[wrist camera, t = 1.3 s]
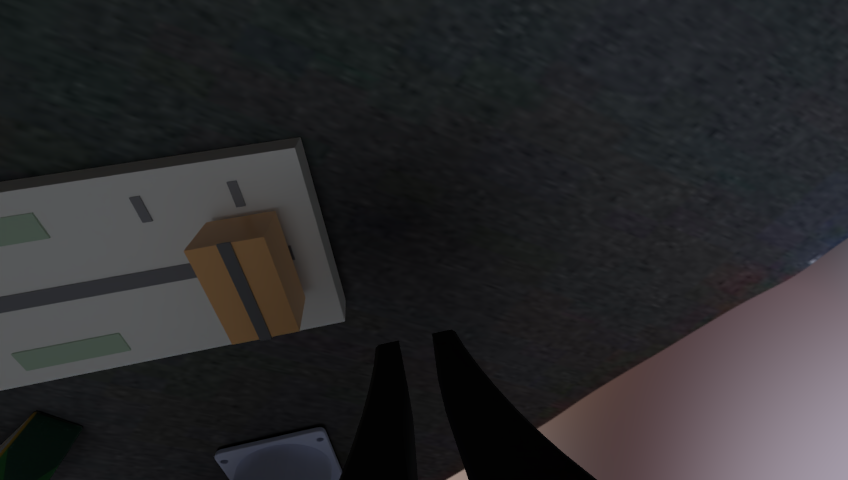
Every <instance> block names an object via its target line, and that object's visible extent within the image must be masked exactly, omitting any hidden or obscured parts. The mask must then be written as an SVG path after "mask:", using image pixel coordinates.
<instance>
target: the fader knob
mask: <svg viewBox="0 0 848 480" xmlns="http://www.w3.org/2000/svg"><path fill="white" fill-rule="evenodd" d="M184 253H185V255H186V257H187V259H188V261H189V262H190V264H191V266H192V268H193V270H194V272H195V274H196V276H197V278H198V280H199V282H200V284H201V286H202V288H203V289H204V291H205V293H206V295H207V297H208V299H209V301H210V303H211V305H212V307H213V309H214V311H215V313H216V314H217V316H218V318H219V320H220V322H221V324H222V326H223V328H224V330H225V332H226V334H227V336H228V338H229V339H230V341H231V343H232V345H233V344H238V343H243V342H248V341H253V340H258V339H260V341H265V340H270V339H272V337H273V336H278V335H283V334H288V333H293V332H298V331H300V326H301V320H302V315H303V309H304V303H305V295H304V292H303V289H302V286H301V283H300V280H299V277H298V274H297V272H296V269H295V266H294V263H293V260H292V257H291V254H290V251H289V248H288V246H287V243H286V240H285V237H284V234H283V231H282V228H281V225H280V223H279V220H278V217H277V214H276V211H271V212H265V213H259V214H253V215H247V216H241V217H235V218H229V219H223V220H217V221H211V222H206V223H205V224H204V226H203V227H202V228H201V229H200V231H199V232H198V233H197V235H196V236H195V237H194V238H193V240H192V241H191V242H190V243H189V245H188V246H187V247H186V248H185V250H184Z"/></svg>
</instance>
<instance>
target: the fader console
mask: <svg viewBox="0 0 848 480" xmlns="http://www.w3.org/2000/svg"><path fill="white" fill-rule="evenodd" d="M271 211H276V214H277V217H278V220H279V223H280V225H281V228H282V231H283V234H284V237H285V240H286V243H287V246H288V248H289V251H290V254H291V257H292V260H293V263H294V266H295V269H296V272H297V274H298V277H299V280H300V283H301V286H302V289H303V292H304V295H305V303H304V309H303V315H302V320H301V326H300V330H305V329H310V328H315V327H320V326H325V325H330V324H335V323H340V322H345V302H346V299H345V296H344V292H343V289H342V285H341V281H340V278H339V274H338V271H337V267H336V263H335V260H334V256H333V253H332V249H331V245H330V242H329V238H328V234H327V231H326V227H325V224H324V220H323V216H322V213H321V209H320V206H319V202H318V198H317V195H316V191H315V188H314V184H313V180H312V177H311V173H310V170H309V166H308V162H307V159H306V155H305V151H304V148H303V144H302V141H301V137H297V138H290V139H283V140H277V141H270V142H263V143H257V144H250V145H243V146H237V147H230V148H223V149H216V150H210V151H203V152H196V153H190V154H183V155H176V156H170V157H163V158H156V159H149V160H143V161H136V162H129V163H123V164H116V165H109V166H103V167H96V168H89V169H82V170H76V171H69V172H62V173H56V174H49V175H42V176H36V177H29V178H22V179H16V180H9V181H2V182H0V391H1V390H6V389H11V388H16V387H21V386H26V385H31V384H36V383H41V382H45V381H50V380H55V379H60V378H65V377H70V376H75V375H80V374H85V373H90V372H95V371H100V370H105V369H110V368H115V367H120V366H125V365H130V364H135V363H140V362H145V361H150V360H155V359H160V358H165V357H170V356H175V355H180V354H185V353H190V352H195V351H200V350H205V349H210V348H215V347H220V346H225V345H230V344H232V343H231V341H230V339H229V338H228V336H227V334H226V332H225V330H224V328H223V326H222V324H221V322H220V320H219V318H218V316H217V314H216V313H215V311H214V309H213V307H212V305H211V303H210V301H209V299H208V297H207V295H206V293H205V291H204V289H203V288H202V286H201V284H200V282H199V280H198V278H197V276H196V274H195V272H194V270H193V268H192V266H191V264H190V262H189V261H188V259H187V257H186V255H185V253H184V250H185V248H186V247H187V246H188V245H189V243H190V242H191V241H192V240H193V238H194V237H195V236H196V235H197V233H198V232H199V231H200V229H201V228H202V227H203V226H204V224H205V223H206V222H211V221H217V220H223V219H229V218H235V217H241V216H247V215H253V214H259V213H265V212H271Z"/></svg>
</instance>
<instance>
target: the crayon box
mask: <svg viewBox="0 0 848 480" xmlns="http://www.w3.org/2000/svg"><path fill="white" fill-rule="evenodd" d="M82 428H83V427H81V426H80V425H76V424H73V423H70V422H67V421H64V420H62V419H59V418H56V417H53V416H50V415H47V414H44V413H41V412H38V411H35V412H34V413H33V414H32V415H31V416H30V417H29V418H28V419H27V420H26V421H25V422H24V423H23V424H22V425H21V426H20V427H19V428H18V429H17V430H16V431H15V432H14V433H13V434H12V435H11V436H10V437H9V438H7V439H6V440H5V441H4V442H3V443H2V444H1V445H0V480H50V478H51V477H52V475H53V474H54V472H55V471H56V469H57V468H58V466H59V465H60V463H61V462H62V460H63V459H64V457H65V456H66V454H67V452H68V451H69V449H70V448H71V446H72V444H73V443H74V441H75V440H76V438H77V437H78V435H79V434H80V432H81V431H82Z"/></svg>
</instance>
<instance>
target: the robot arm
mask: <svg viewBox="0 0 848 480" xmlns="http://www.w3.org/2000/svg"><path fill="white" fill-rule="evenodd" d="M432 336H433V344H434V351H435V359H436V367H437V374H438V381H439V385H440V389H441V394H442V398H443V402H444V406H445V411H446V414H447V417H448V420H449V423H450V426H451V429H452V432H453V435H454V438H455V441H456V444H457V447H458V450H459V453H460V456H461V459H462V462H463V465H464V467H465V470H466V473H467V476H468V479H469V480H597V479H595V478H594V477H593V476H592V475H590V474H589V473H588V472H587V471H585V470H584V469H583V468H582V467H580V466H579V465H577V463H575V462H574V461H573V460H572V459H570V458H569V457H568V456H566V455H565V454H564V453H563V452H562V451H561V450H560V449H558V448H557V447H556V446H555V445H554V444H553V443H552V442H551V441H549V440H548V439H547V438H546V437H545V436H544V435H543V434H541V432H540V431H538V430H537V429H536V428H535V427H534V426H533V425H532V424H531V423H530V422H529V421H528V420H527V419H526V418H525V417H524V416H523V415H522V414H521V413H520V412H519V411H518V410H517V409H516V408H515V407H514V406H513V405H512V404H511V403H510V402H509V401H508V399H507V398H506V397H505V396H504V395H503V394H502V393H501V392H500V391H499V390H498V388H497V387H496V386H495V385H494V384H493V383H492V381H491V380H490V379H489V378H488V377H487V375H486V374H485V373H484V372H483V371H482V369H481V368H480V367H479V366H478V364H477V363H476V362H475V360H474V359H473V358H472V356H471V355H470V354H469V352H468V351H467V349H466V348H465V347H464V345H463V344H462V342H461V340H460V339H459V337H458V336H457V334H456V332H455V331H453V330H448V331H443V332H438V333H433V334H432ZM214 458H215V460H216V461H217V463H218V464H219V466H220V467H221V468H222V470H223V471H224V473H225V474H226V475H227V477H228V478H229V480H418V476H417V463H416V450H415V437H414V424H413V415H412V410H411V404H410V398H409V392H408V386H407V381H406V376H405V371H404V366H403V360H402V355H401V350H400V345H399V341H395V342H390V343H385V344H381V345H378V346H377V347H376V350H375V361H374V368H373V373H372V378H371V383H370V387H369V391H368V395H367V399H366V403H365V406H364V410H363V414H362V417H361V420H360V423H359V426H358V429H357V432H356V436H355V439H354V442H353V445H352V448H351V450H350V453H349V456H348V458H347V461H346V464H345V466H344V469H343V471H342V469H341V467H340V465H339V462H338V460H337V457H336V455H335V452H334V450H333V447H332V445H331V442H330V440H329V437H328V435H327V433H326V430H325V429H324V428H322V427H316V428H312V429H307V430H303V431H299V432H294V433H290V434H285V435H281V436H277V437H272V438H268V439H263V440H259V441H255V442H250V443H246V444H241V445H237V446H233V447H228V448H224V449H220V450H218V451H217V452H216V454H215V457H214Z"/></svg>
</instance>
